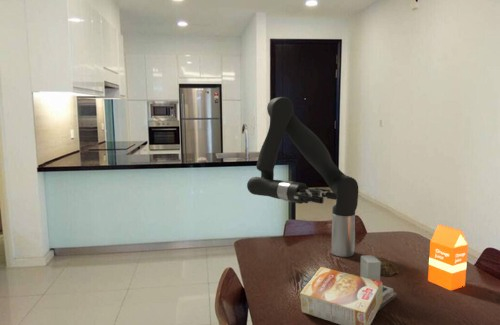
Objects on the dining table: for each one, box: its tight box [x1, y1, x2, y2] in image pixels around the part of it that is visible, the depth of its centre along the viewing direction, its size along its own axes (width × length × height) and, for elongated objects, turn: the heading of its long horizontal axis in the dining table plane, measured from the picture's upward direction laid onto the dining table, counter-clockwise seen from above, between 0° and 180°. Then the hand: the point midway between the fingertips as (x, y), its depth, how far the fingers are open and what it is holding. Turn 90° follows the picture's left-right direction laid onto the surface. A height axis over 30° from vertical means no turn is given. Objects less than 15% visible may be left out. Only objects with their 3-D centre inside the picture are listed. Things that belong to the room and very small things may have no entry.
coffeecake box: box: [299, 266, 383, 325], centre depth 111 cm, size 15×7×20 cm
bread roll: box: [374, 256, 400, 277], centre depth 143 cm, size 13×12×5 cm
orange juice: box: [427, 223, 469, 291], centre depth 131 cm, size 8×9×20 cm
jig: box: [378, 284, 397, 311], centre depth 121 cm, size 14×13×3 cm
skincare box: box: [359, 254, 381, 282], centre depth 120 cm, size 6×4×12 cm
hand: (330, 198), depth 128 cm, fingers open, 8 cm apart
